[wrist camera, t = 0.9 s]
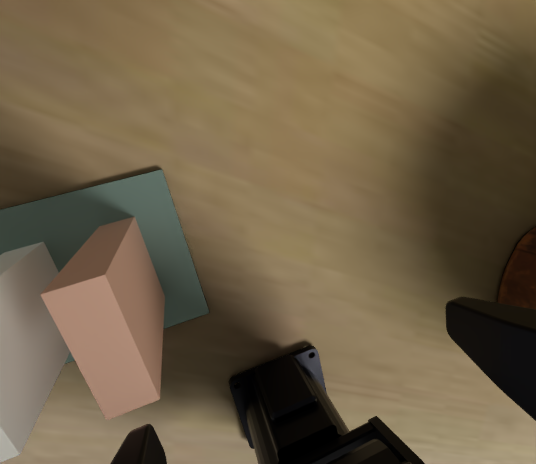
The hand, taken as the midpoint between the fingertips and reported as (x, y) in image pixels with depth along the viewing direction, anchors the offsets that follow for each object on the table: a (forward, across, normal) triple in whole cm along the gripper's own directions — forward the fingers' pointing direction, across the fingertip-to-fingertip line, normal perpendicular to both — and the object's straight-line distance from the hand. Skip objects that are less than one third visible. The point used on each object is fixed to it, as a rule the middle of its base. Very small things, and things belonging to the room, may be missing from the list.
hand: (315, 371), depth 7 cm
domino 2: (+12, +6, 0) cm, 13 cm away
